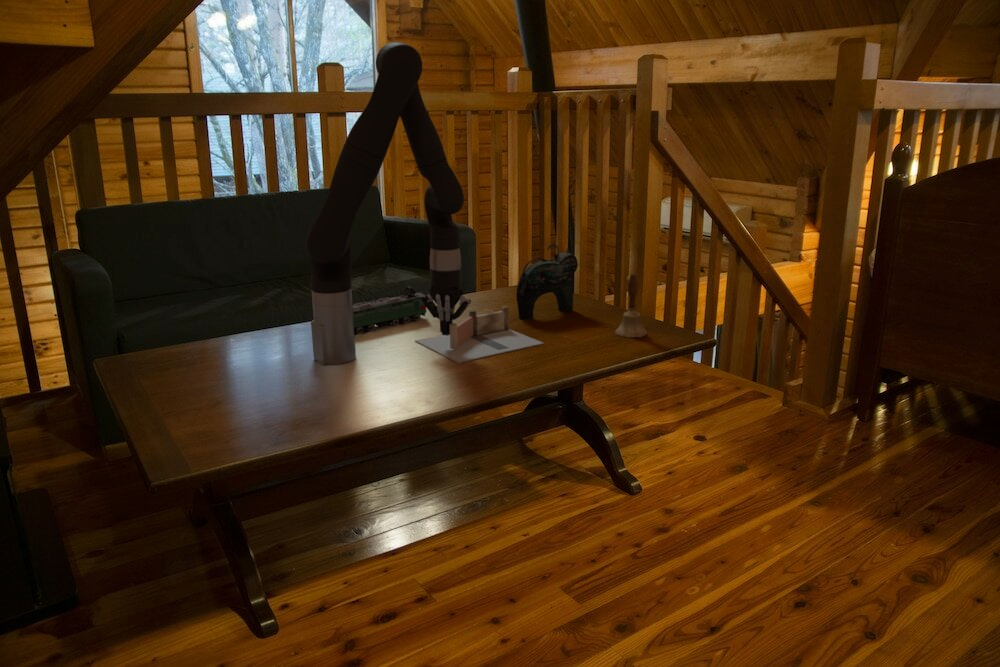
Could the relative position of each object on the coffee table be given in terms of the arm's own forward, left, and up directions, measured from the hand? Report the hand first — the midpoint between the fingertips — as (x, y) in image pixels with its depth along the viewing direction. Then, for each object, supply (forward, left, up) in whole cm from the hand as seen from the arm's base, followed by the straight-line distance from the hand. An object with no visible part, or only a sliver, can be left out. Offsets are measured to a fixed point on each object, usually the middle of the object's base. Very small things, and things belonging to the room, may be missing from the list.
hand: (446, 334), depth 195 cm
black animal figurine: (+40, +10, -4) cm, 42 cm away
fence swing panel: (+4, 0, -3) cm, 5 cm away
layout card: (+9, -1, -4) cm, 10 cm away
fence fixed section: (+16, +4, -3) cm, 17 cm away
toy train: (-5, +27, -4) cm, 27 cm away
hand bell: (+46, -18, -4) cm, 49 cm away
